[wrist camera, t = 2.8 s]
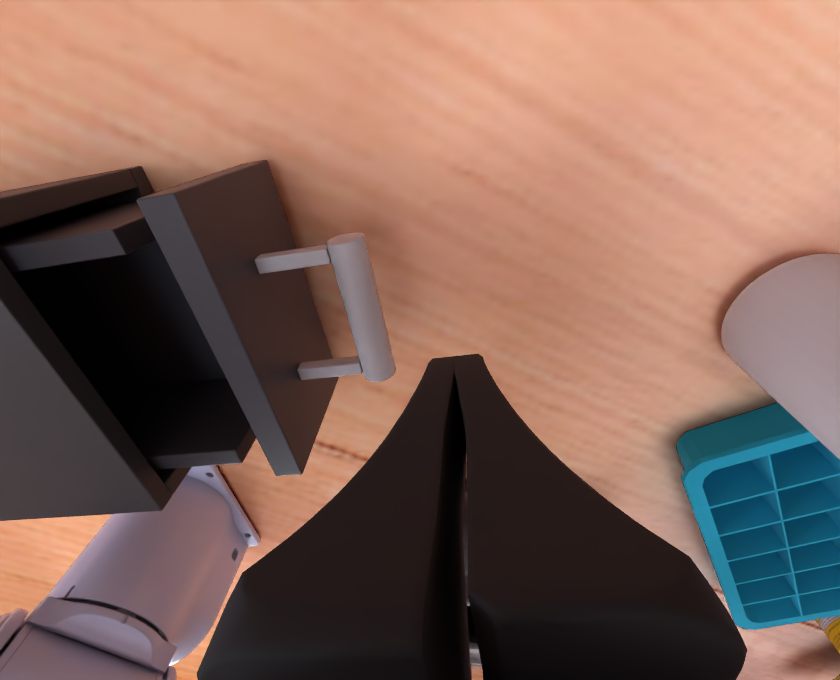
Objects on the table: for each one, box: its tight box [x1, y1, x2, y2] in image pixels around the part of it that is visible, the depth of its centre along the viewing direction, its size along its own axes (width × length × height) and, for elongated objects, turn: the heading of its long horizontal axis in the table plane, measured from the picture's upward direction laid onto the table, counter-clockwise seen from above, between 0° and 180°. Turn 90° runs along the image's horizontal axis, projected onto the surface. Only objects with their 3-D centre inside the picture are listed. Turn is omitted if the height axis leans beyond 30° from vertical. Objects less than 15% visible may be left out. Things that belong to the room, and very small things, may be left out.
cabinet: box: [0, 166, 192, 521], centre depth 18 cm, size 14×13×9 cm
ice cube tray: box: [677, 403, 840, 630], centre depth 26 cm, size 12×20×3 cm, turn 30°
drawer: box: [0, 160, 396, 476], centre depth 17 cm, size 17×11×7 cm
